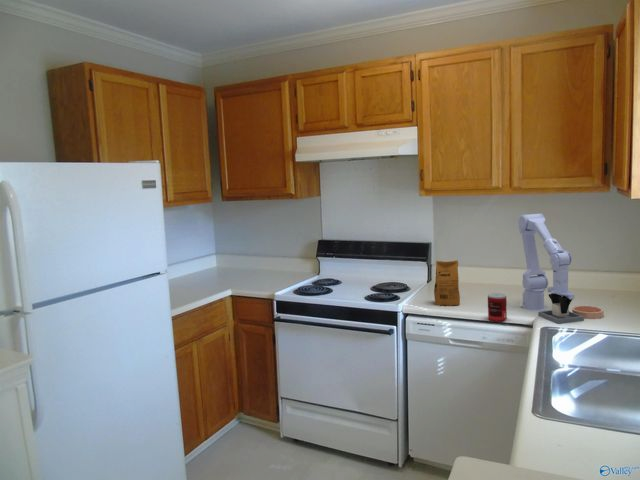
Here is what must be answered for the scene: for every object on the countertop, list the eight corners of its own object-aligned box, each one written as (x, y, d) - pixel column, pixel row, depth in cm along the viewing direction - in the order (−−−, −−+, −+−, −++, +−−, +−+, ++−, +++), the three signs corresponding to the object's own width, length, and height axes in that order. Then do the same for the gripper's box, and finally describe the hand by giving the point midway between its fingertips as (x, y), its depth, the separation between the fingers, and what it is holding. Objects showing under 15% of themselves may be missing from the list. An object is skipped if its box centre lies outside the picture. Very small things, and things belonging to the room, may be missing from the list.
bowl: (566, 314, 212) (566, 307, 212) (589, 311, 215) (589, 304, 214) (585, 321, 201) (585, 314, 201) (609, 318, 203) (609, 311, 203)
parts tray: (538, 317, 211) (538, 311, 211) (562, 314, 213) (562, 308, 213) (558, 325, 198) (558, 319, 198) (584, 322, 200) (584, 316, 200)
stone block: (552, 313, 207) (552, 303, 206) (562, 312, 208) (562, 302, 207) (558, 316, 203) (558, 305, 202) (568, 315, 204) (568, 304, 203)
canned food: (502, 316, 215) (501, 292, 214) (509, 321, 207) (509, 296, 206) (485, 317, 215) (484, 293, 214) (492, 322, 207) (491, 297, 206)
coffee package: (434, 301, 248) (433, 259, 246) (459, 301, 245) (458, 258, 243) (434, 306, 239) (432, 262, 236) (460, 306, 236) (459, 262, 233)
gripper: (541, 278, 210) (541, 308, 212) (563, 284, 196) (563, 317, 197) (555, 276, 211) (555, 306, 213) (579, 283, 197) (578, 315, 199)
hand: (560, 311), depth 205 cm, fingers closed on stone block, 4 cm apart
